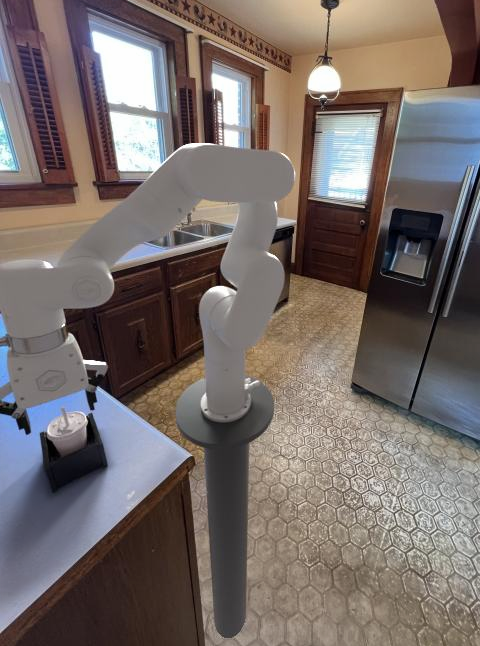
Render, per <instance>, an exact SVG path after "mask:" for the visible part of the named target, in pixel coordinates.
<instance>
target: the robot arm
mask: <svg viewBox="0 0 480 646" xmlns="http://www.w3.org/2000/svg"><path fill="white" fill-rule="evenodd" d="M295 182H296V171H295V167H294V165H293V163H292V161H291V160H290V158H289V157H288V156H287V155H286V154H284V153H282V152H280V151H277V150H269V149H257V148H245V147H237V146H228V145H221V144H216V143H215V144H214V143H188V144H185V145H182V146H181V147H179V148H177V149H176V150H175V151H174V152H173V153H172V154H170V155H169V156H168V158H166V160H165V161H163V162H162V163H161V164H160V165H159V166H158V167H157V168H156V169H154V171H153V172H152V173H151V174H150V175H149V176H148V177H147V178H146V179H145V180H144V181H143V182H142V183H141V184H140V185H138V186H137V188H135V189H134V190H133V191H132V192H131V193H130V194H129V195H128V196H127V197H125V199H124V200H122V201H121V202H119V203H118V204H117V205H116V206H114V207H113V208H112V209H111V210H109V212H107V213H106V214H104V215H103V216H102V217H100V218H99V219H98V220H97V221H95V222H94V223H93V224H92V225H91V226H90V227H88V228H87V229H86V230H85V231H83V233H82V234H81V235H80V236H79V237H78V238H77V239H75V241H74V242H72V244H70V246H69V247H67V249H65V251H64V252H63V253H62V255H61V256H60V258H59V259H58V261H57V266H55V267H54V266H52V264H50V263H49V262H47V261H44V260H41V259H16V260H11V261H7V262H4V263H1V264H0V315H1V317H2V321H3V325H4V328H5V331H6V333H5V335H4V336H2V337H0V348H1V347H8V349H7V353H6V367H7V374H8V378H9V381H8V382H6V383H5V384H3V385H2V386H1V387H0V415H4V416H9V417H11V418H12V419H13V420H15V422H16V425H17V427H18V431H22V430H24V433H25V436H28V435H31V434H32V426H31V421H30V417H29V414H28V410H27V409H31V408H34V407H38V406H41V405H44V404H47V403H51V402H53V401H57V400H59V399H62V398H65V397H68V396H71V395H74V394H77V393H79V392H82V391H83V390H84V393H85V396H86V397H85V398H86V401H87V402H86V403H87V405H88V408H89V411H95V410H96V408H95V404H96V403H98V399H97V393H96V391H97V390H98V387H99V386H100V384H101V383H102V382H103V381H104V379H105V375H106V374H107V371H108V369H109V365H108V364H107V362H106V361H98V360H97V361H96V360H86V359H84V357H83V354H82V351H81V348H80V346H79V343H78V341H77V340H76V338H75V336H74V335H73V333H70V332H69V330H68V326H67V321H66V317H65V311H64V309H91V308H97V307H99V306H102V305H104V304H105V303H107V302H108V301H109V300H110V299H111V298H112V296H113V294H114V291H115V281H114V278H113V276H112V273H111V271H110V270H111V269H112V268H113V267H114V266H115V264H117V263H118V261H119V260H121V258H123V257H124V256H125V255H126V254H127V253H129V252H130V251H131V250H133V249H134V248H136V247H138V246H140V245H141V244H144V243H148V242H153V241H157V240H160V239H163V238H165V237H167V236H168V235H169V234H170V233H171V232H173V230H174V229H176V227H177V226H178V225H179V224H180V223H181V222H182V221H183V220H184V219H185V218H186V217H187V216H188V215H189V214H190V213H191V212H192V211H193V210H194V209H195V208H196V207H197V206H198V205H199V204H200V203H201V202H202V201H208V202H215V203H232V204H235V203H236V204H237V216H236V220H235V223H234V225H233V226H234V227H233V229H232V232H231V235H230V237H229V240H228V242H227V245H226V248H225V250H224V253H223V255H222V258H221V261H220V272H221V274H222V276H223V278H224V279H225V280H226V281H227V282H229V283H230V285H232V286H233V287H235V289H237V290H235V289H233V288H230V287H228V286H224V285H217V286H214V287H211V288H209V289H208V290H207V291H205V293H204V294H203V295H202V297H201V299H200V302H199V305H198V314H199V315H198V316H199V322H200V327H201V332H202V339H203V341H202V342H203V349H204V350H203V352H204V354H203V356H204V378H206V393H205V394H204V395H203V397H202V399H201V403H200V406H201V411H202V413H203V415H204V416H205V417H206V418H208V419H210V420H212V421H215V422H220V423H226V422H232V421H235V420H238V419H240V418H241V417H243V416H244V415H245V414H246V413H247V412H248V410H249V408H250V405H251V398H250V395H249V394H250V393H251V391H252V390H255V389H257V388H259V387H261V384H260V382H259V381H260V380H259V379H257V381H255V382H253V383H251V379H250V378H248V379H246V380H245V375H246V351H248V350H250V349H252V348H254V346H256V345H257V344H258V343H259V341H260V340H261V339H262V338H263V336H264V334H265V332H266V331H267V328H268V325H269V323H270V322H271V319H272V316H273V314H274V311H275V309H276V307H277V304H278V302H279V299H280V297H281V295H282V292H283V290H284V285H285V276H286V275H285V269H284V265H283V264H282V262H281V260H279V258H277V256H275V255H274V254H272V253H270V248H271V245H272V243H273V239H274V237H275V234H276V230H277V226H278V218H279V217H278V216H279V214H278V213H279V212H278V206H277V202H279V201H282V200H283V199H285V198H286V197H287V196H289V194H290V193H291V192H292V190H293V188H294V185H295ZM87 371H96V372H95V373H94V374H93V376H91V377H89V376H88V372H87ZM258 380H259V381H258ZM249 383H251V384H249ZM10 394H12V395H13V398H14V401H13V402H8V401H4V400H3V399H4V398H6V397H7V396H9V395H10Z"/></svg>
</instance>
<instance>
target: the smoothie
mask: <svg viewBox="0 0 480 646" xmlns="http://www.w3.org/2000/svg"><path fill="white" fill-rule="evenodd" d="M60 409H61V413H62V414H61V415H58V416H57V417H55V418H54V419H53V420H52V421H50V423H49V424H48V425H47V427H46V429H45V432H46V433H47V437H48V439H49V440H51V441H52V442H53V444H54V445H55V447H56V449H57V450H58V452H59V454H58V455H60V458H61V457H64V456H66V455H68V454H70V453H73V452H75V451H77V450H79V449H82V448H84V447H86V446H88V441H87V434H86V425H87V418H86V416H87V415H86V414H85V413H84V412H82V411H70V412H69V411H68V412H67V410H66V407H65V406H61V407H60Z"/></svg>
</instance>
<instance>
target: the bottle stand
mask: <svg viewBox="0 0 480 646" xmlns="http://www.w3.org/2000/svg"><path fill="white" fill-rule="evenodd" d="M86 418H87V425H86V434H87V442H89V441H92V440H94V442H93V443H91V444H87V446H86V447H84V448H82V449H79V450H77V451H75V452H73V453H70V454H68V455H66V456H64V457H61V456H60V457H59V458H56V459H55V460H54V458H53V457H55V456H58V455H60V454H59V452H58V450H57V449H56V447H55V445H54V444H53V442H52V441H51V440H49V439H48V437H47V433H46V430H45V431H40V432H39V440H40V447H41V455H42V461H43V469H44V473H45V475H46V478H47V482H48V485H49V487H50V489H51V492H52V494H54V493H56V492H58V491H59V489H61V488H63V487H64V486H67V485H69V484H70V483H73V482H74V481H77V480H79V479H81V478H83V477H84V476H87V475H89V474H92V473H93V472H95V471H97V470H99V469H101V468H103V469H104V468H106V467H108V466H109V463H108V459H107V456H106V451H105V447H104V443H103V440H102V437H101V433H100V431H99V428H98V425H97V423H96V419H95V417H94V413H93V412H89V413H87V415H86Z"/></svg>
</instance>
